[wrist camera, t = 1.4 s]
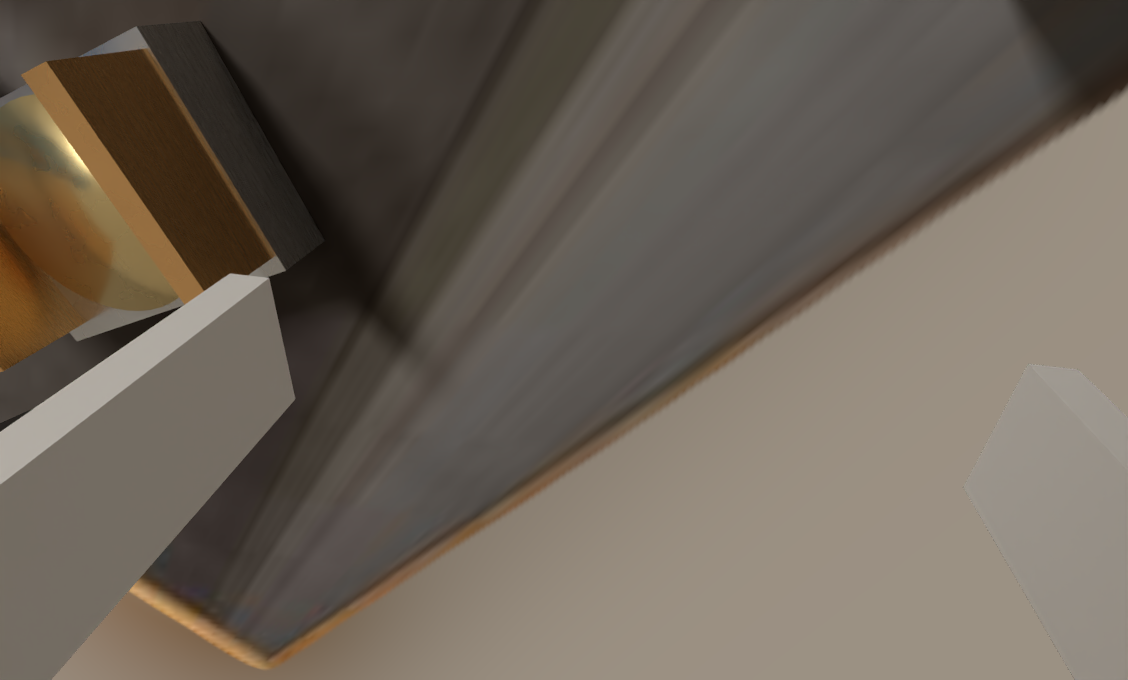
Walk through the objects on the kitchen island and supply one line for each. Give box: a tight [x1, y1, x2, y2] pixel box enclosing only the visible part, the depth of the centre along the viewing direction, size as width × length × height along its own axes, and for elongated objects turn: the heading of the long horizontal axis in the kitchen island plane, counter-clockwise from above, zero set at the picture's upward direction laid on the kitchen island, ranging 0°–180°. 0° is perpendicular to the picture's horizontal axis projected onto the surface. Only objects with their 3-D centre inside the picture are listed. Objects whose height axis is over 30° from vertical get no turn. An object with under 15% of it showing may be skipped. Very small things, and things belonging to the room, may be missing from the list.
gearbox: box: [0, 21, 325, 372], centre depth 36 cm, size 14×18×11 cm
